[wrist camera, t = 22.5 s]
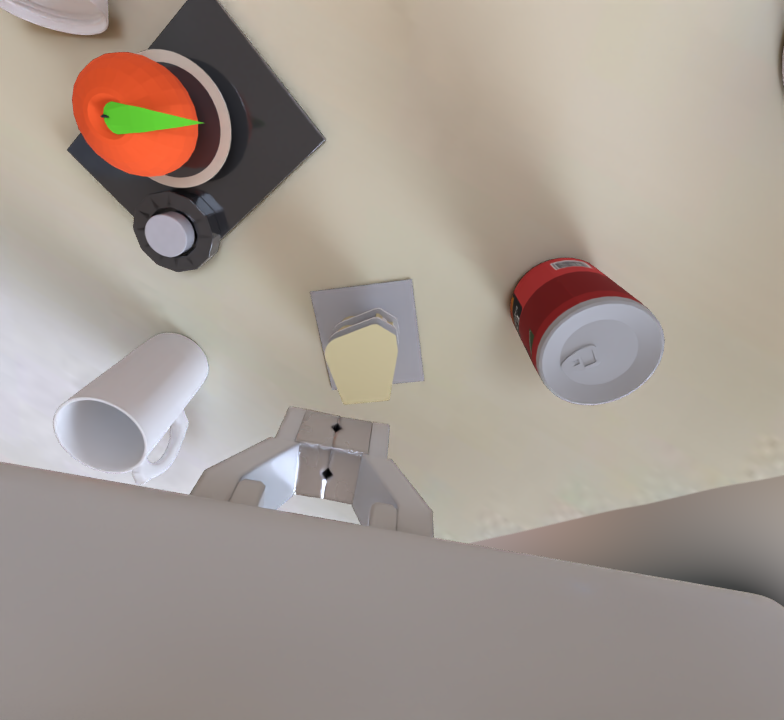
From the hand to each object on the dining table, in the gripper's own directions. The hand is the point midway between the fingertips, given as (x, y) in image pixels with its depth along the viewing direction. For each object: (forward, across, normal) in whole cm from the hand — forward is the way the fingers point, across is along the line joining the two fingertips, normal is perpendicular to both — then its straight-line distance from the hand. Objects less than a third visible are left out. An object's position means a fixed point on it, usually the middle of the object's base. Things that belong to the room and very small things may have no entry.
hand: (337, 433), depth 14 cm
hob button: (+25, +16, +2) cm, 30 cm away
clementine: (+25, +16, -6) cm, 30 cm away
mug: (+27, +17, +17) cm, 36 cm away
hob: (+27, +16, -4) cm, 31 cm away
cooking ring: (+25, +16, -5) cm, 30 cm away
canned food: (+27, -15, +2) cm, 31 cm away
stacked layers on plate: (+27, 0, +9) cm, 29 cm away
